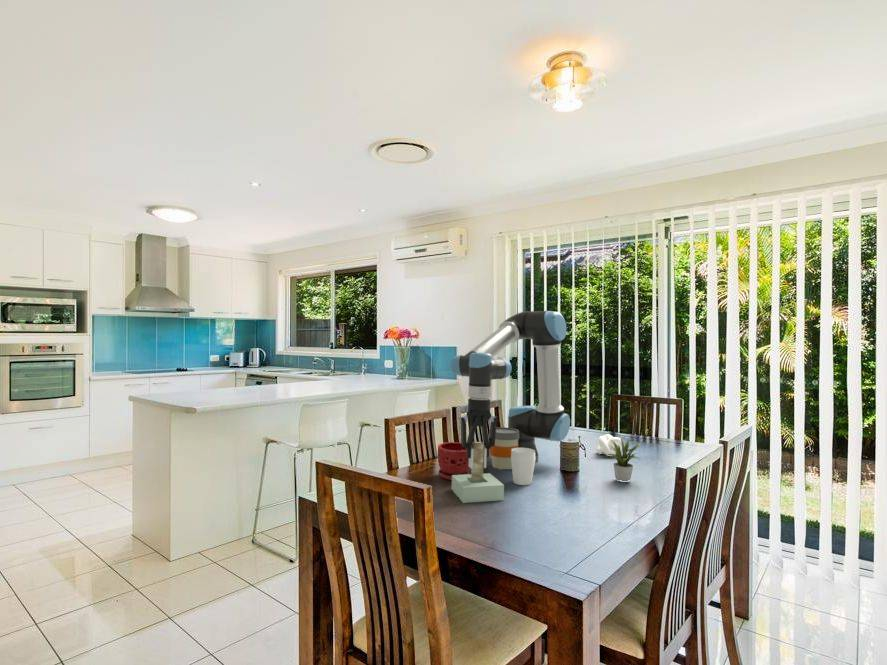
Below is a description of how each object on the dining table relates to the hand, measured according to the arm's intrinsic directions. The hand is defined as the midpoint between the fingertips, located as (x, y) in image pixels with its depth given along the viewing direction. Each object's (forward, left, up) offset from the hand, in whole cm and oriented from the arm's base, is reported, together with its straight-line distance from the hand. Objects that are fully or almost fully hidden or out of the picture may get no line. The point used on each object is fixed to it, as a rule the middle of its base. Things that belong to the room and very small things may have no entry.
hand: (477, 467), depth 174 cm
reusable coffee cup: (-22, -32, -10) cm, 40 cm away
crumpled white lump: (-77, -43, -10) cm, 89 cm away
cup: (-21, -10, -10) cm, 25 cm away
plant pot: (+2, -21, -10) cm, 23 cm away
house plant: (-60, -4, -10) cm, 61 cm away
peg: (0, 0, -4) cm, 4 cm away
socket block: (0, 0, -9) cm, 9 cm away
